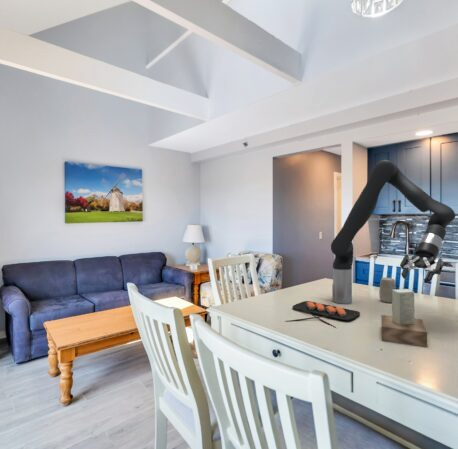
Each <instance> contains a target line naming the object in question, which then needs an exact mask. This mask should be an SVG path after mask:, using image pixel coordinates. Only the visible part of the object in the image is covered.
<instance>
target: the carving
mask: <svg viewBox="0 0 458 449" xmlns="http://www.w3.org/2000/svg"><path fill="white" fill-rule="evenodd" d="M396 287H397V286H396V281H395V279H394V278H392V277H382V278H381V279H380V283H379V294H378V295H379V299H380V300H381V301H382V302H384V303H389V304H392V290H396Z"/></svg>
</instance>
